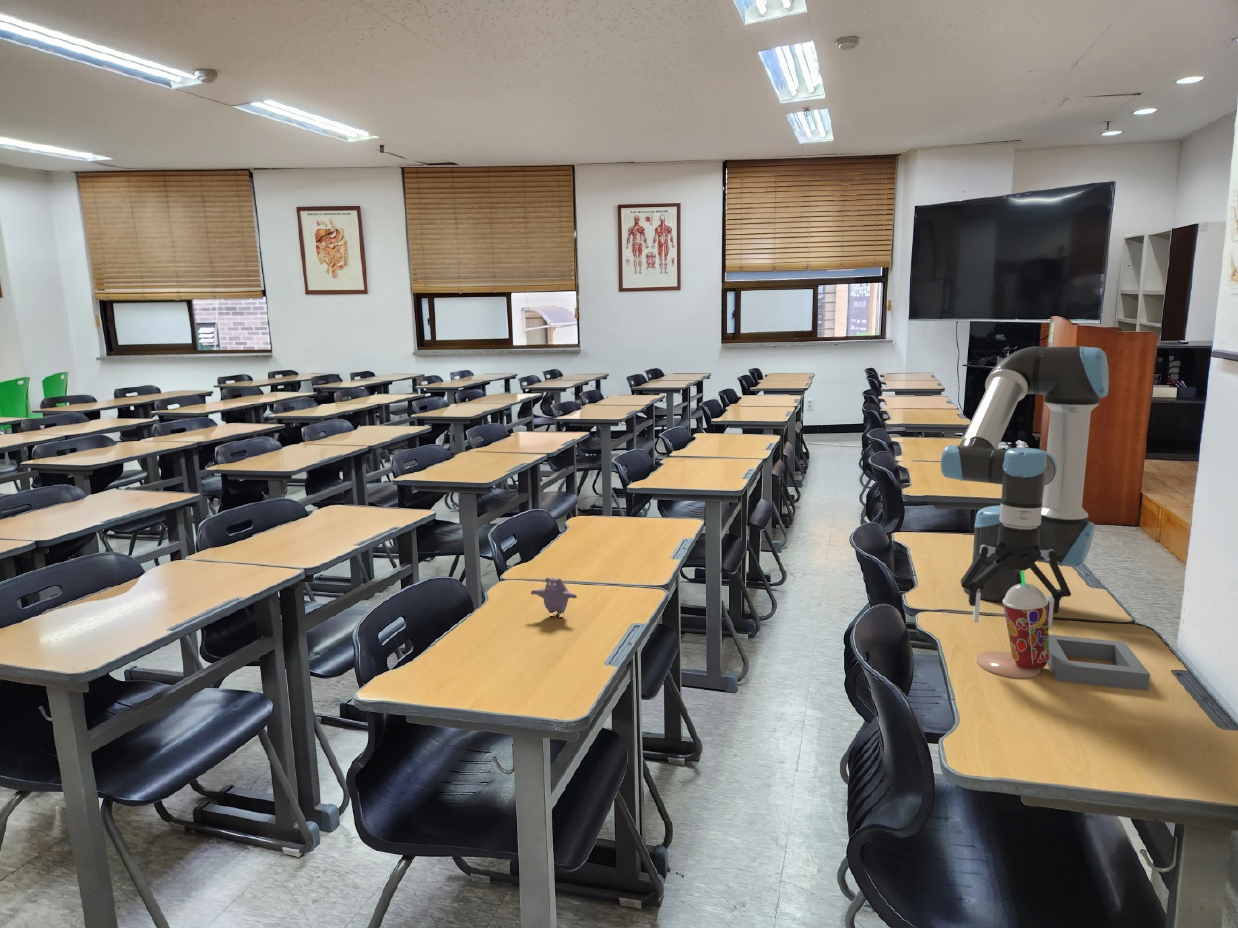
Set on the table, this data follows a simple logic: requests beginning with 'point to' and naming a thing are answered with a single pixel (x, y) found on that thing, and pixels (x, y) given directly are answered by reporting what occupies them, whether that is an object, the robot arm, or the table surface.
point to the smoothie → (1027, 624)
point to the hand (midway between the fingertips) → (1011, 623)
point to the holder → (1120, 676)
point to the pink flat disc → (1004, 665)
